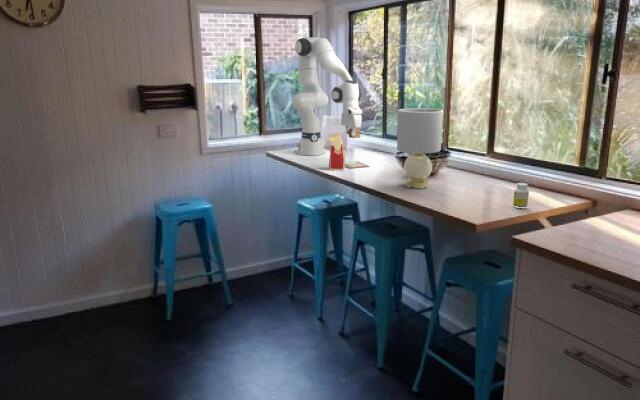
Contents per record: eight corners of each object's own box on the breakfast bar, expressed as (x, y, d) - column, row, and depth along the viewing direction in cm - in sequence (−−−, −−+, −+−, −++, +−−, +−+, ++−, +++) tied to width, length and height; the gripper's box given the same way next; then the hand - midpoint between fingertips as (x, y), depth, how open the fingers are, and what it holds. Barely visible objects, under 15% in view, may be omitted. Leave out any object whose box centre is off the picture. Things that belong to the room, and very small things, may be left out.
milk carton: (345, 167, 283) (345, 131, 278) (344, 170, 274) (344, 133, 269) (329, 167, 284) (328, 131, 279) (327, 170, 275) (327, 133, 270)
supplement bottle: (524, 210, 198) (526, 186, 196) (510, 207, 202) (513, 184, 199) (529, 207, 202) (531, 183, 200) (515, 204, 206) (517, 181, 203)
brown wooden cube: (348, 137, 290) (348, 128, 289) (356, 136, 292) (356, 127, 290) (352, 138, 285) (352, 129, 284) (360, 137, 287) (360, 128, 286)
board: (338, 163, 293) (338, 162, 293) (357, 162, 297) (357, 160, 297) (349, 168, 279) (349, 167, 279) (369, 167, 283) (369, 165, 283)
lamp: (393, 180, 249) (395, 108, 240) (434, 180, 248) (438, 108, 239) (398, 190, 230) (400, 112, 221) (442, 190, 229) (447, 112, 220)
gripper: (338, 108, 292) (338, 132, 296) (353, 111, 274) (353, 137, 277) (348, 108, 294) (348, 132, 298) (363, 111, 276) (363, 136, 279)
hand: (350, 134), depth 287 cm, fingers closed on brown wooden cube, 5 cm apart
